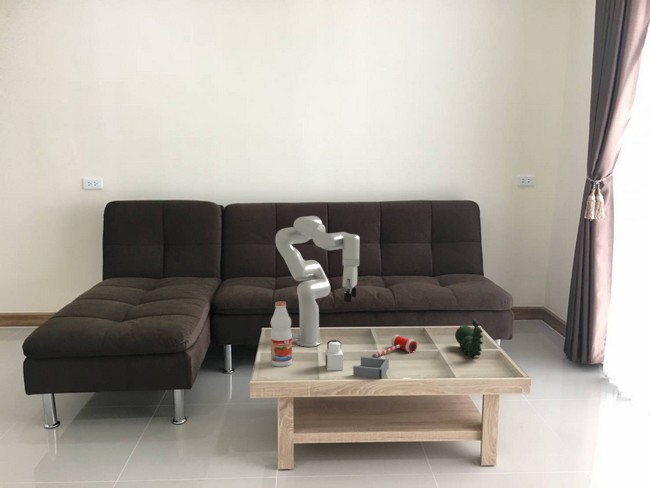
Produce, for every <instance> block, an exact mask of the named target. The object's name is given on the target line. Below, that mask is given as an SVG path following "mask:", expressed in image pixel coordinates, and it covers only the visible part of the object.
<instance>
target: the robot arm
mask: <svg viewBox="0 0 650 488" xmlns="http://www.w3.org/2000/svg"><path fill="white" fill-rule="evenodd" d="M360 239H361V238H360V236H359V234H353V233H348V232H346V231H339V232H332V233H331V232H330V233H327V232H326V226H325V225H324V224H323V222H322V220H321V218H319V216H316V215H308V216H300V217H297V218H296V219H295V220H294V222H293V227H285V228H282V229H280V230H278V231H277V232H276V235H275V246H276V248H277V250H278V252H279V253H280V255H281V256H282V258H283V259H284V262H285V264H286V265H287V268H288V270H289V271H290V274H291V277H292V278H293V279H294V280H295V281H298V282H300V283H299V284H298V285H297V289H296V292H297V293H296V294H297V297H298V304H299V305H298V307H299V308H298V309H299V312H298V313H299V333H292V339H297V340H296V344H297V345H298V346H299V345H300V347H303V346H304V348H305V347H306V348H314V347H318V346H317V345H318V344H320V343H322V344H323V339H321V338H320V313H319V312H320V310H319V309H320V308H319V305H318V303H317V301H316V299H322V298H325V297H327V296H328V295H330V293H331V284H330V282H329V279H328V277H327V275H326V274H325V273H326V272H325V271H324V269H323V267H322V266H321V264H320V263H319V262H318V261H317V260H315V259H309V260H306V259H304V258H303V256H302V254H301V252H300V251H299V250H298V249H297V248H296V247H295V246H293V245H296V244H304V243H307V242H308V241H310V240H312V241H313V243H314V245H315V246H316V247H319V248H321V249H324V250H325V251H335V250H341V249H342V266H343V271H342V288H344V302H345V303H346V302H347V303H351V302H353V300H352V298H356V297H357V288H358V287H357V284H358V267H359V266H360V246H361V245H360V244H361V243H360ZM319 339H320V342H319ZM318 342H319V343H318Z"/></svg>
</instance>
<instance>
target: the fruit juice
mask: <svg viewBox="0 0 650 488" xmlns="http://www.w3.org/2000/svg"><path fill="white" fill-rule="evenodd" d="M274 305H275V306H274V307H275V309H274V312H273V315H272V317H271V319H270V326H271V330H270V360H271V361H270V362H271V365H272V366H273V367H277V368H281V367H289V366H291V365H292V363H293V337H292V334H293V333H292V329H291V327H292V318H291V317H290V315H289V313H288V310H287V308H286V307H287V302H286V301H281V300H280V301H275V304H274Z"/></svg>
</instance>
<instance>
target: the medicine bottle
mask: <svg viewBox="0 0 650 488" xmlns="http://www.w3.org/2000/svg"><path fill="white" fill-rule="evenodd" d="M326 345H327V346H326V349H325V350H324V351H325V367H326V371H343V370H344V354H343V350H342V342H341V341H340V340H337V339H331V340H329V341H328V340H327V344H326Z"/></svg>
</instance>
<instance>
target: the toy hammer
mask: <svg viewBox="0 0 650 488" xmlns="http://www.w3.org/2000/svg"><path fill="white" fill-rule="evenodd" d="M390 345H391V347H390V348H388V349H385V350H382V351H380V352H378V353H373V354H372V355H371V356H372V358H379V357H380V356H382V355H381V354H383V355H385V354H387V353H389V352H391V351H394V350H396V349H400V348H401V350H403V349H404V350H403V351H406V352H407V353H408V352H409V354H411V353H410V352H413V351H415V352H416V351H417V349H418V342H417V340H416V339H412V338H411V339H408V338H405V337H403V336H402V335H400V334H394V335H393V336H392V338H391V341H390ZM413 353H414V352H413Z"/></svg>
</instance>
